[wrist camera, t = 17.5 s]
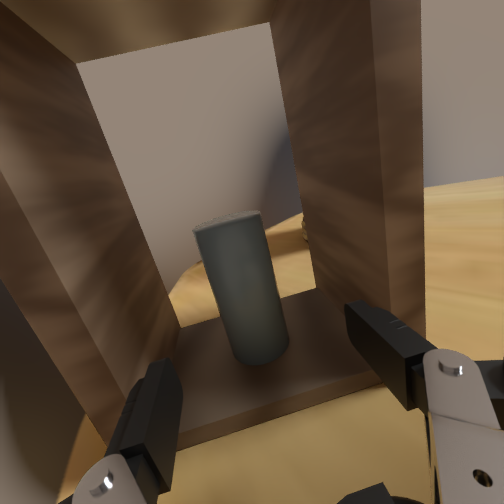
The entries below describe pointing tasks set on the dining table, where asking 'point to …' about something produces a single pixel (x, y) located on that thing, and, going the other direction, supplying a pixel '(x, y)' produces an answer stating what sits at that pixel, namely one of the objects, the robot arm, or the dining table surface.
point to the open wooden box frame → (131, 235)
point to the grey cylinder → (244, 285)
